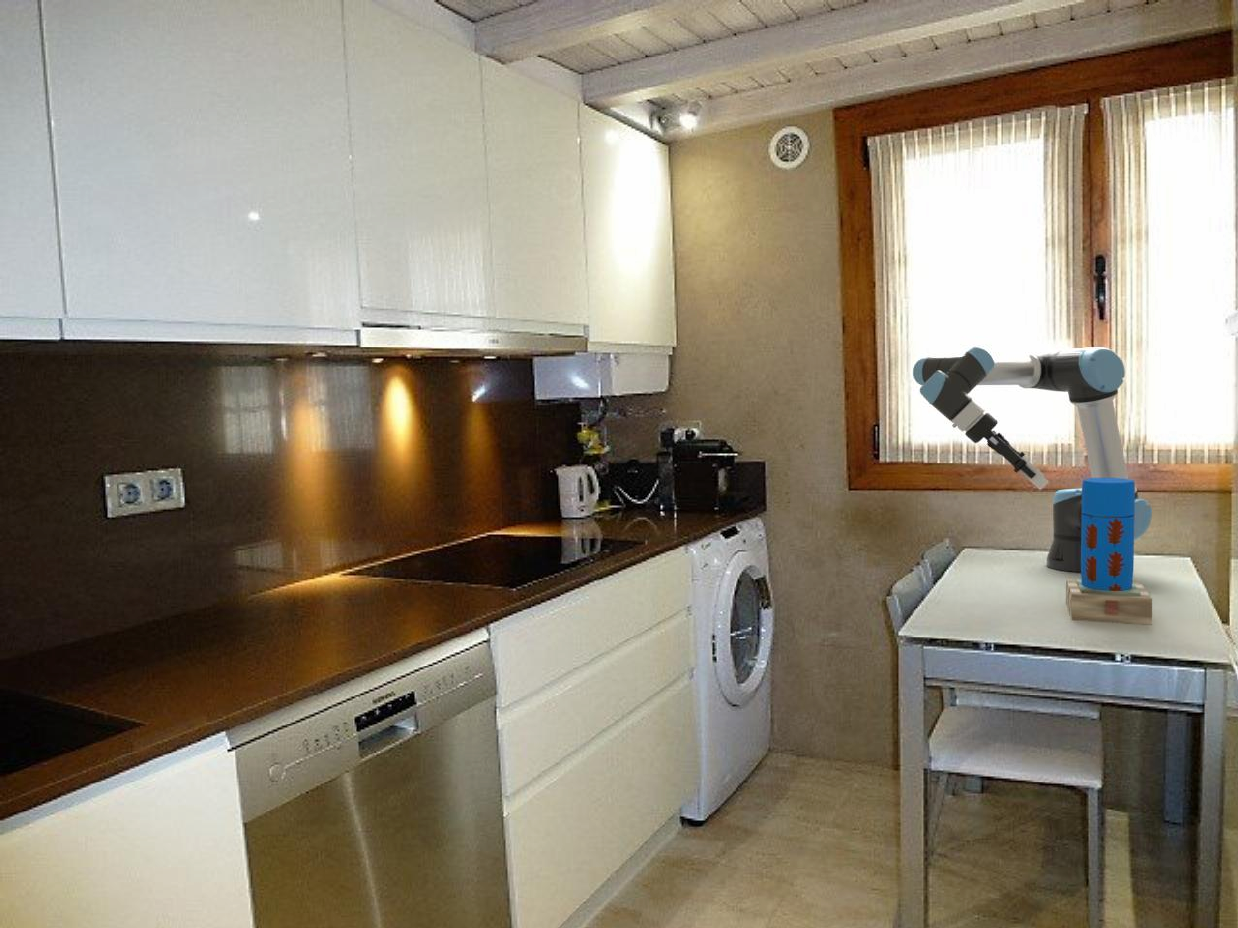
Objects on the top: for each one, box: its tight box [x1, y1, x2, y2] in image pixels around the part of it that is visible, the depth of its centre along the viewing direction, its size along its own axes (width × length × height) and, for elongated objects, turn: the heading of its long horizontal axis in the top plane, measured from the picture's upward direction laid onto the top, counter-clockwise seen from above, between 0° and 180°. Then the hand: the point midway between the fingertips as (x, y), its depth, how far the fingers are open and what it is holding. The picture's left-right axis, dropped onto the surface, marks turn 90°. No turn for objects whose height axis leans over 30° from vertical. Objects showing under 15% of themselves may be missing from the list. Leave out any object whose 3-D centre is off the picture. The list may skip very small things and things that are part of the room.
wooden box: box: [1065, 578, 1153, 626], centre depth 208 cm, size 17×16×7 cm
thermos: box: [1080, 477, 1136, 591], centre depth 207 cm, size 11×11×25 cm
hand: (1042, 482), depth 215 cm, fingers open, 13 cm apart
